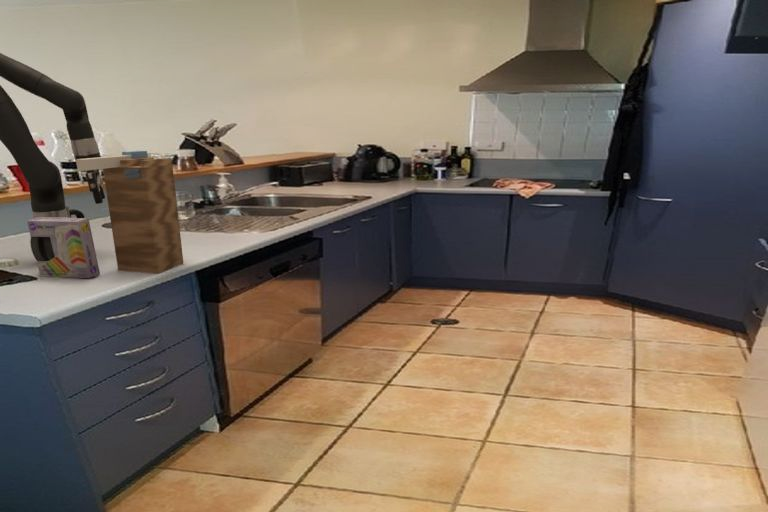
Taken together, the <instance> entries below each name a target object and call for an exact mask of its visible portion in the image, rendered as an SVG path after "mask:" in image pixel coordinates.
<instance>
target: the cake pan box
mask: <svg viewBox="0 0 768 512" xmlns="http://www.w3.org/2000/svg"><path fill="white" fill-rule="evenodd" d="M26 223H27V227H28V231H29V237H30V242H29V243H30V249H31V252H32V256H33V257H34V259H35V260H36V264H37V269H38V272H39V277H40V276H41V277H56V278H57V277H59V278H76V279H77V278H79V279H82V278H83V279H84V278H85V279H86V278H87V279H90V278H93V277H96V276H99V275H101V271H100V267H99V262H98V258H97V252H96V248H95V242H94V239H93V234H92V233H93V232H92V228H91V224H90V220H89V218H88V217H87V218H86V217H85V218H77V217H71V218H66V217H56V218H54V217H38V218H32V219H29V220H28V219H27V221H26Z"/></svg>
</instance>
